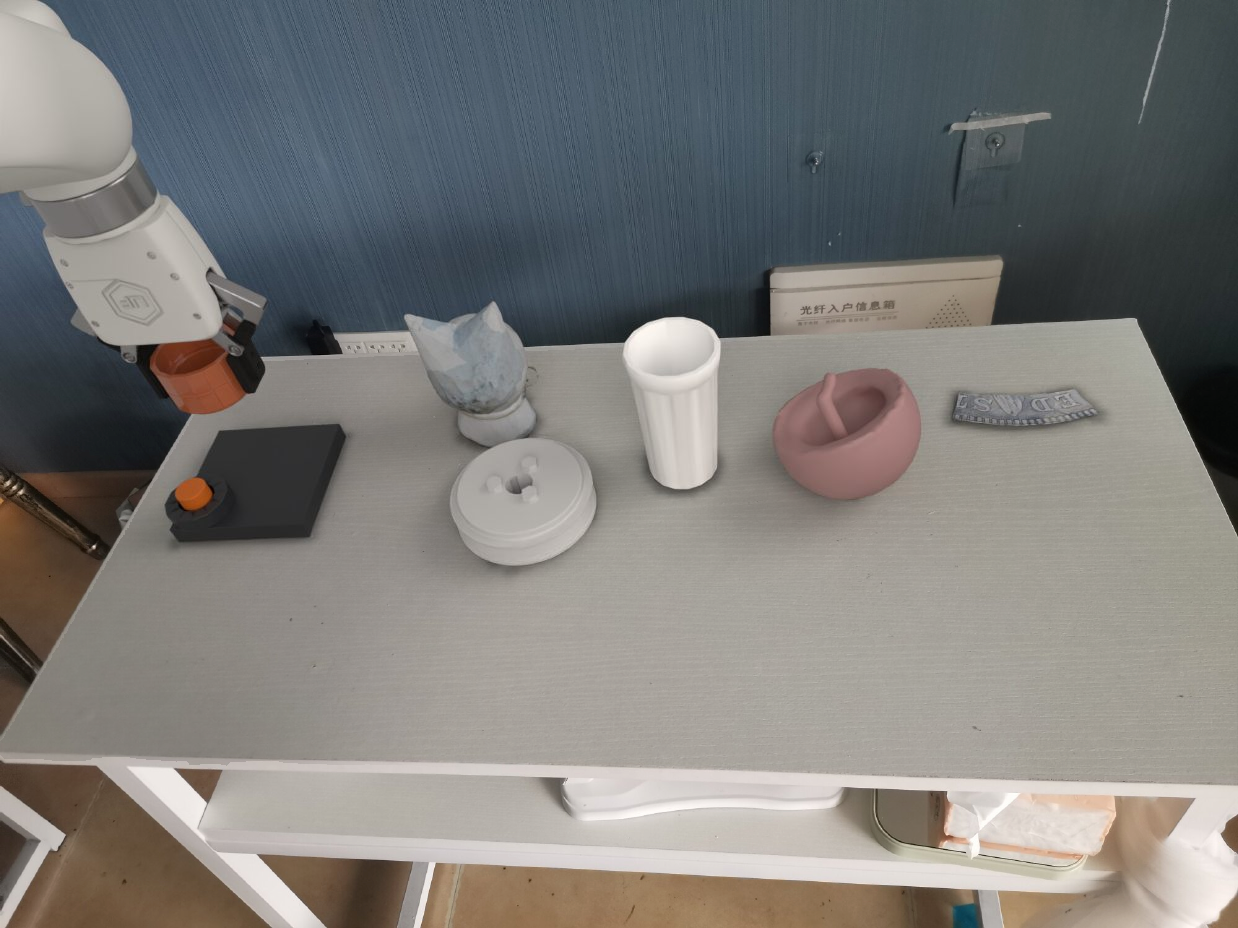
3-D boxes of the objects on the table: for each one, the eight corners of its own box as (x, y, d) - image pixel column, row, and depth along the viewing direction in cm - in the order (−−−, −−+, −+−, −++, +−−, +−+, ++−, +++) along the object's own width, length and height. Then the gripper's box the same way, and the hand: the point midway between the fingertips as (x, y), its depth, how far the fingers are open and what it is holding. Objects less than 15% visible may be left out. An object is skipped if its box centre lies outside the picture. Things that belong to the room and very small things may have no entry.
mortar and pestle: (805, 413, 84) (809, 317, 76) (931, 451, 79) (949, 352, 71) (750, 500, 78) (748, 406, 70) (883, 547, 73) (898, 452, 64)
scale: (308, 540, 81) (293, 515, 79) (174, 545, 83) (155, 522, 81) (346, 436, 90) (333, 411, 88) (224, 443, 92) (208, 419, 90)
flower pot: (241, 416, 72) (216, 375, 69) (164, 420, 73) (135, 380, 70) (268, 361, 77) (246, 320, 74) (195, 365, 78) (170, 325, 75)
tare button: (206, 510, 81) (198, 499, 80) (178, 511, 82) (169, 501, 80) (217, 487, 83) (209, 476, 82) (189, 488, 84) (181, 478, 82)
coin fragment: (1089, 389, 82) (1090, 385, 81) (1104, 425, 78) (1106, 422, 78) (946, 394, 84) (947, 391, 83) (955, 430, 80) (956, 426, 80)
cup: (645, 506, 79) (626, 388, 69) (635, 442, 85) (616, 324, 74) (735, 492, 79) (729, 371, 68) (719, 429, 84) (712, 308, 74)
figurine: (557, 394, 91) (527, 273, 80) (520, 458, 85) (483, 336, 74) (473, 381, 94) (433, 262, 83) (432, 441, 88) (384, 322, 77)
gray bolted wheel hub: (436, 509, 82) (421, 473, 78) (551, 443, 86) (541, 406, 82) (502, 597, 74) (489, 561, 71) (625, 520, 78) (618, 483, 74)
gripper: (-45, 237, 60) (100, 422, 73) (192, 216, 58) (297, 410, 71) (12, 180, 65) (138, 362, 78) (231, 158, 63) (323, 350, 76)
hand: (213, 384), depth 75 cm, fingers closed on flower pot, 7 cm apart
